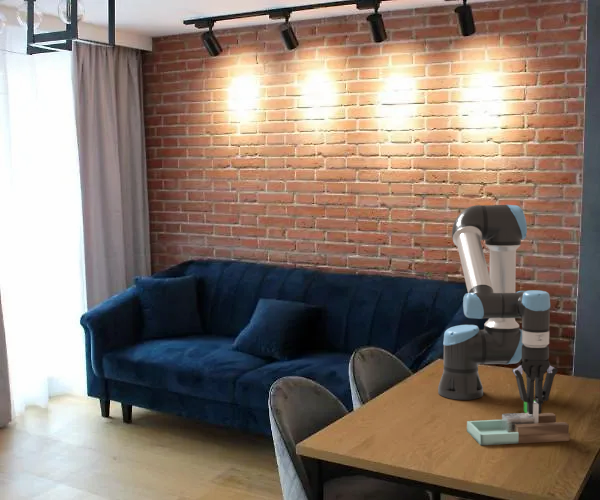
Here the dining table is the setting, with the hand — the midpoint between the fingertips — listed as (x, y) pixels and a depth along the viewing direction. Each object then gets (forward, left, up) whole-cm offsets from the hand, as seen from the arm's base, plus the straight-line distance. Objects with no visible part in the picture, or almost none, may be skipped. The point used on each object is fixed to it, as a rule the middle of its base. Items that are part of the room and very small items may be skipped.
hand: (533, 424), depth 226 cm
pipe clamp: (-17, +7, -4) cm, 18 cm away
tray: (0, -13, -3) cm, 13 cm away
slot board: (0, 0, -3) cm, 3 cm away
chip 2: (0, -3, -1) cm, 3 cm away
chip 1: (0, -7, -1) cm, 7 cm away
